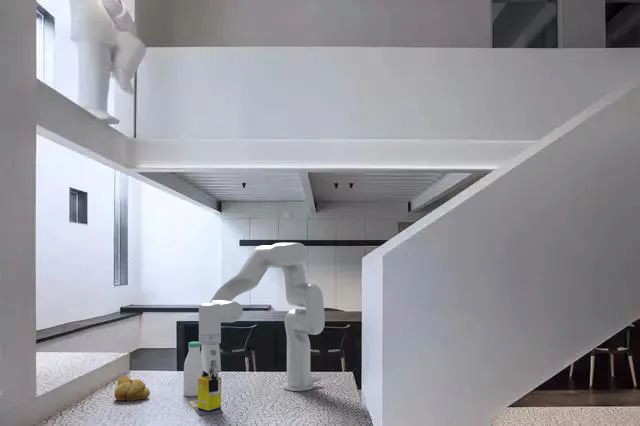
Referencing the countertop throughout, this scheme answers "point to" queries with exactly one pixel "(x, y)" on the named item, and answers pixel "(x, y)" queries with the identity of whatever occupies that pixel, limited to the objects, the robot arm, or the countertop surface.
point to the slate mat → (207, 412)
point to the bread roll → (130, 389)
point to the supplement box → (208, 395)
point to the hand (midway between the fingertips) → (210, 388)
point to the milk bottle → (192, 370)
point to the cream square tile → (194, 403)
